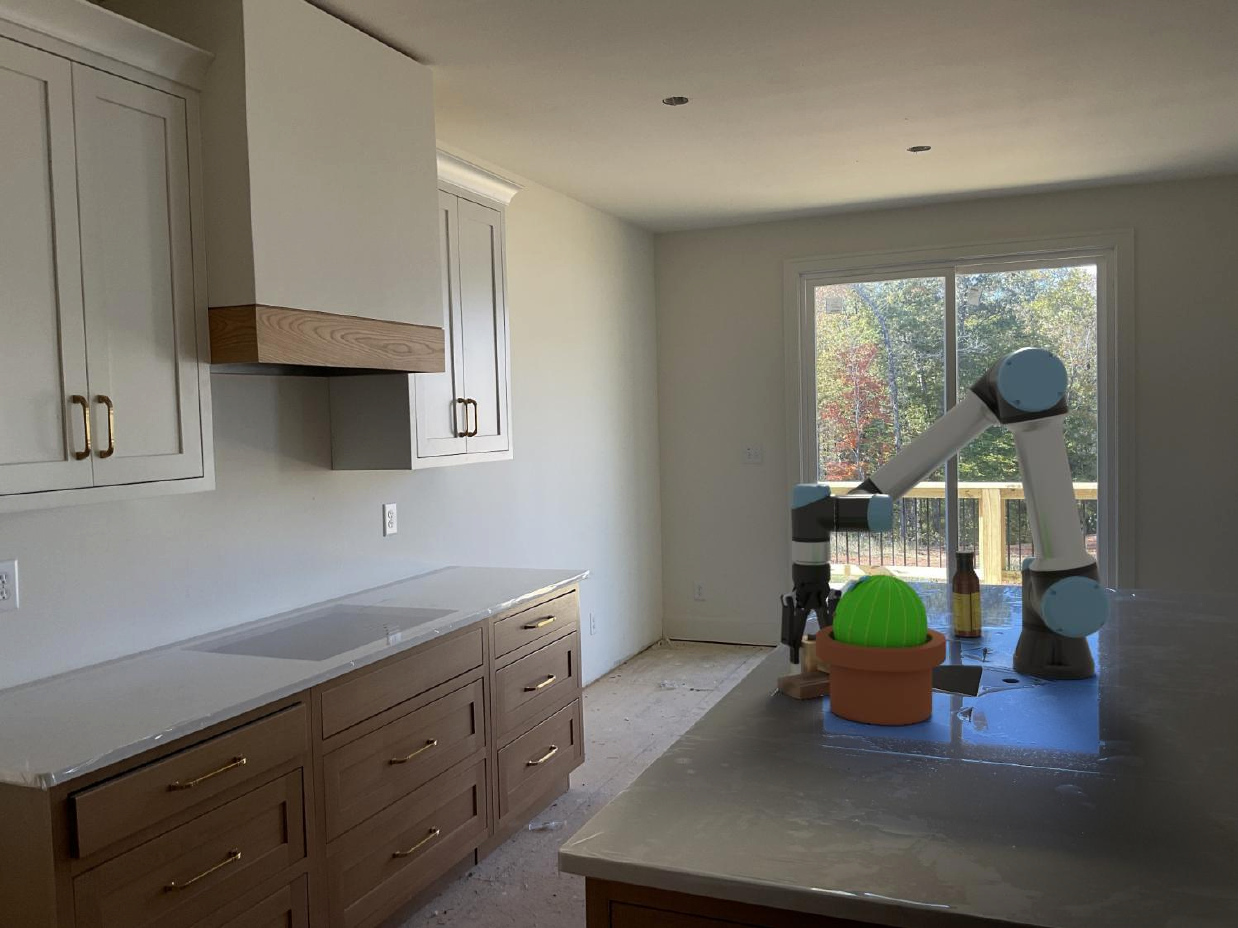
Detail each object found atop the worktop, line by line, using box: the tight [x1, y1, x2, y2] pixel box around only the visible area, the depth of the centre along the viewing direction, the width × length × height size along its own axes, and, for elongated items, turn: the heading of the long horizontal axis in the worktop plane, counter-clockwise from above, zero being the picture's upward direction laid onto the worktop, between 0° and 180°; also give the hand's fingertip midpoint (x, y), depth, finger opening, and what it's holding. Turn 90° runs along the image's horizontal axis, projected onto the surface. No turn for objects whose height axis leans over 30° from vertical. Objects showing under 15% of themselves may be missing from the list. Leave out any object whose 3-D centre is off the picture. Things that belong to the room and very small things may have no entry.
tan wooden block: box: [790, 632, 830, 676], centre depth 190 cm, size 12×6×9 cm, turn 27°
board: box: [777, 671, 830, 701], centre depth 187 cm, size 7×22×3 cm, turn 117°
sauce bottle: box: [951, 549, 983, 638], centre depth 227 cm, size 7×6×20 cm
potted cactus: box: [815, 571, 947, 726], centre depth 171 cm, size 22×22×25 cm
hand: (812, 677), depth 193 cm, fingers closed on tan wooden block, 6 cm apart
